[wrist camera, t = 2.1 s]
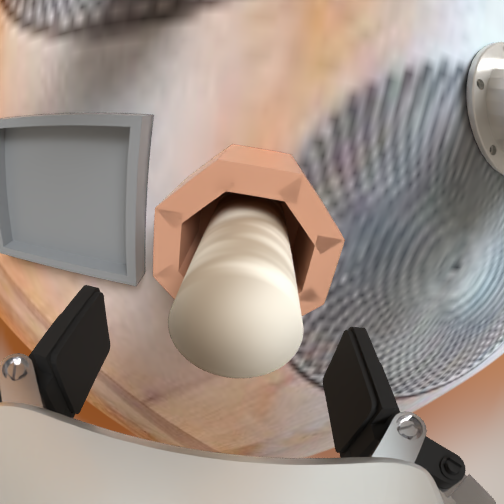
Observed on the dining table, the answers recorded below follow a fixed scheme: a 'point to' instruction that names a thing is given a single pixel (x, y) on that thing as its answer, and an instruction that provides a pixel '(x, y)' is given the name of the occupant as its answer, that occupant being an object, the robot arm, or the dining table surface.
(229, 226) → the peg
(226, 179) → the terracotta octagonal pot
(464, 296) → the dining table surface
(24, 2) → the dining table surface
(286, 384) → the dining table surface
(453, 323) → the dining table surface
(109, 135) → the tray
